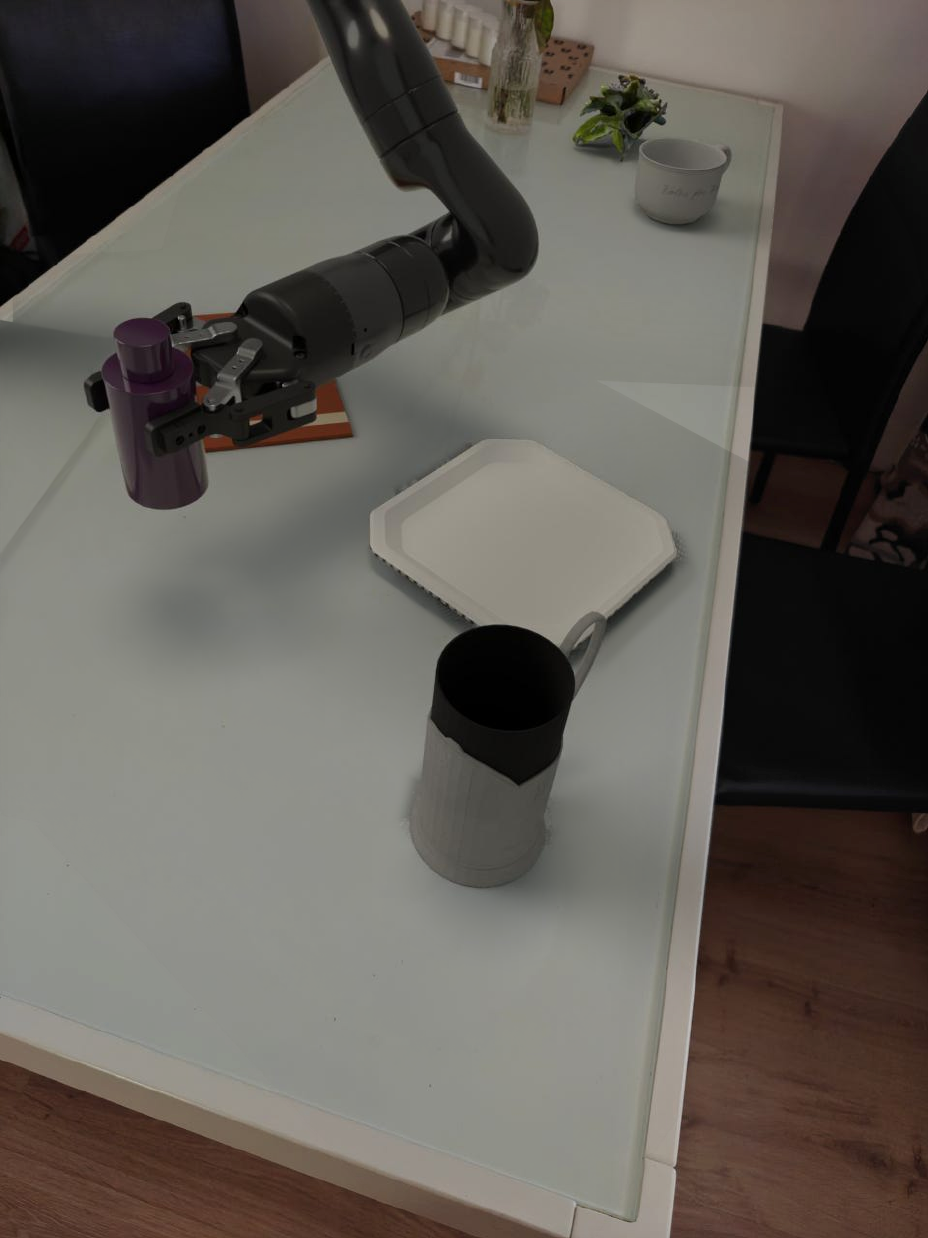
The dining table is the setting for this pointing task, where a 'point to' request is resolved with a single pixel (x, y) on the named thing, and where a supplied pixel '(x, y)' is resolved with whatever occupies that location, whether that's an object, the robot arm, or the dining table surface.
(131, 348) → the bottle
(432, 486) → the plate
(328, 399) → the towel
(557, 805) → the dining table surface
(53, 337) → the dining table surface
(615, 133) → the green leafy clump
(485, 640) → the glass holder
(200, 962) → the dining table surface
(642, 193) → the teacup
